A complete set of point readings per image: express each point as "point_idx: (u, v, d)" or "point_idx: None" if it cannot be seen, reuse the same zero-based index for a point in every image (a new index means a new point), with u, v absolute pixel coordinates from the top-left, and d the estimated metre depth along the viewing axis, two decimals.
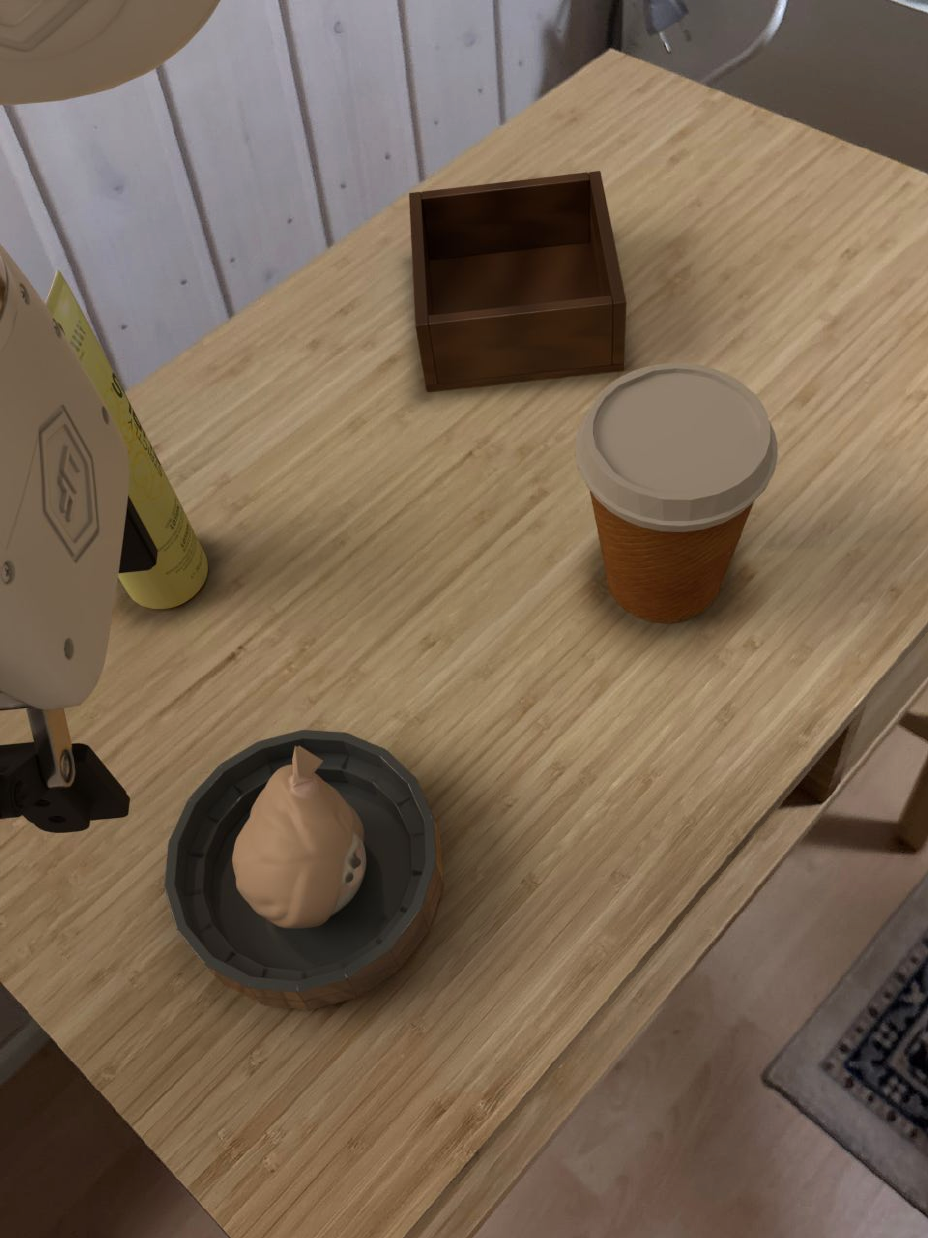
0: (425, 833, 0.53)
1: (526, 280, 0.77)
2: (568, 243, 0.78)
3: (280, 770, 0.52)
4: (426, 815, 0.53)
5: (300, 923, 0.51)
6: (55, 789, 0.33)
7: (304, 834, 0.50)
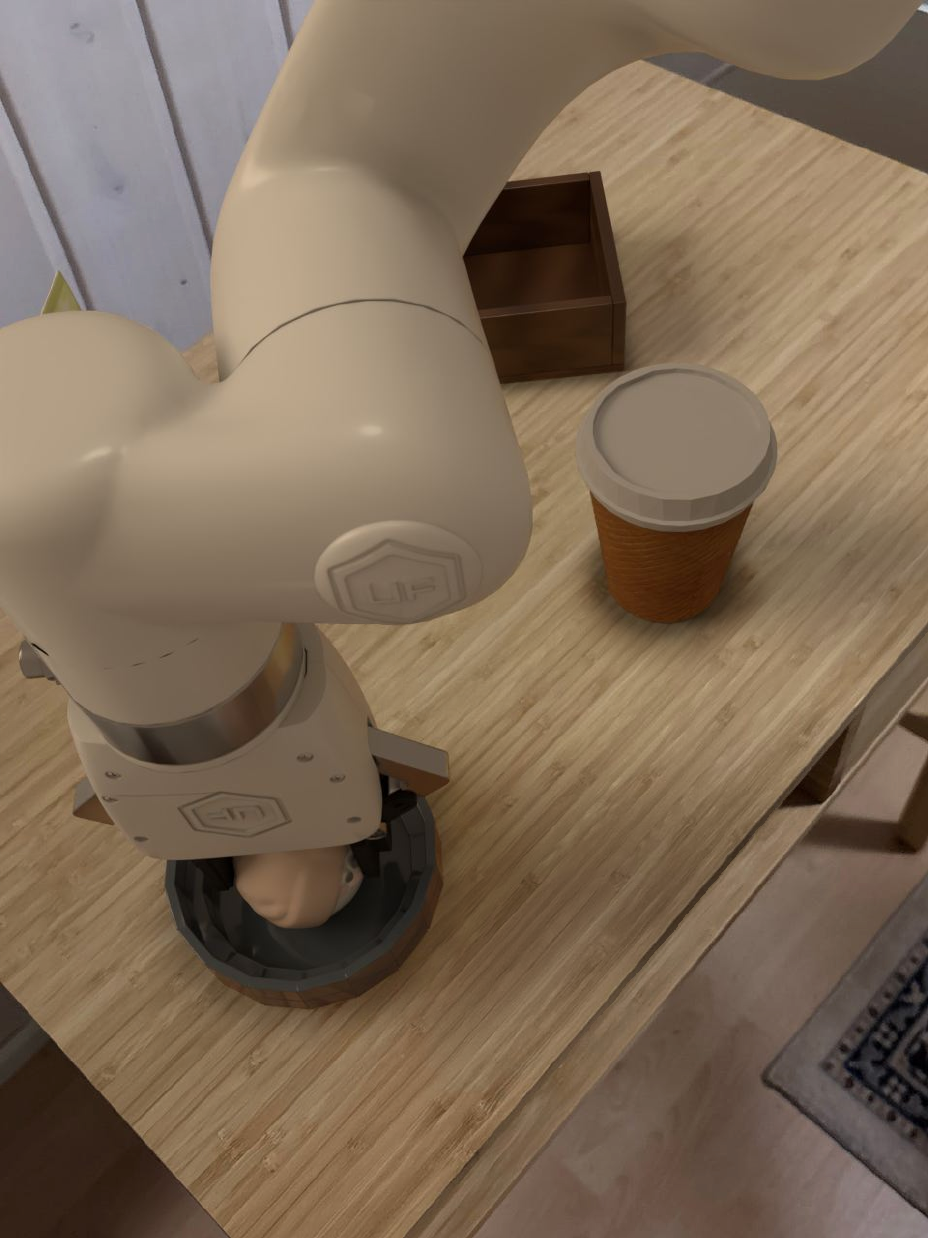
0: (425, 833, 0.53)
1: (526, 280, 0.77)
2: (568, 243, 0.78)
3: None
4: (426, 815, 0.53)
5: (300, 923, 0.51)
6: None
7: None
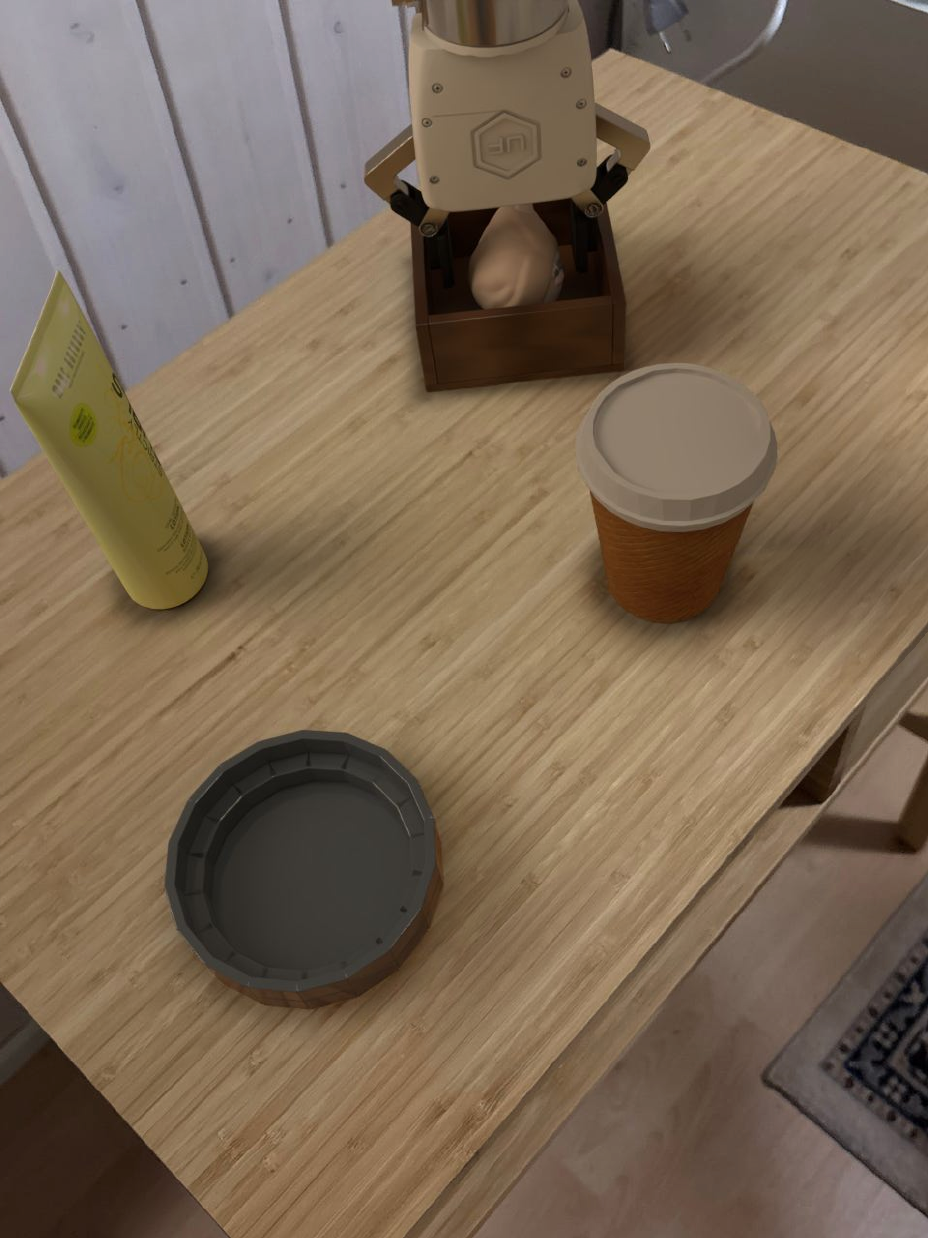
0: (425, 833, 0.53)
1: None
2: (568, 243, 0.78)
3: None
4: (426, 815, 0.53)
5: (522, 301, 0.71)
6: None
7: (527, 233, 0.70)
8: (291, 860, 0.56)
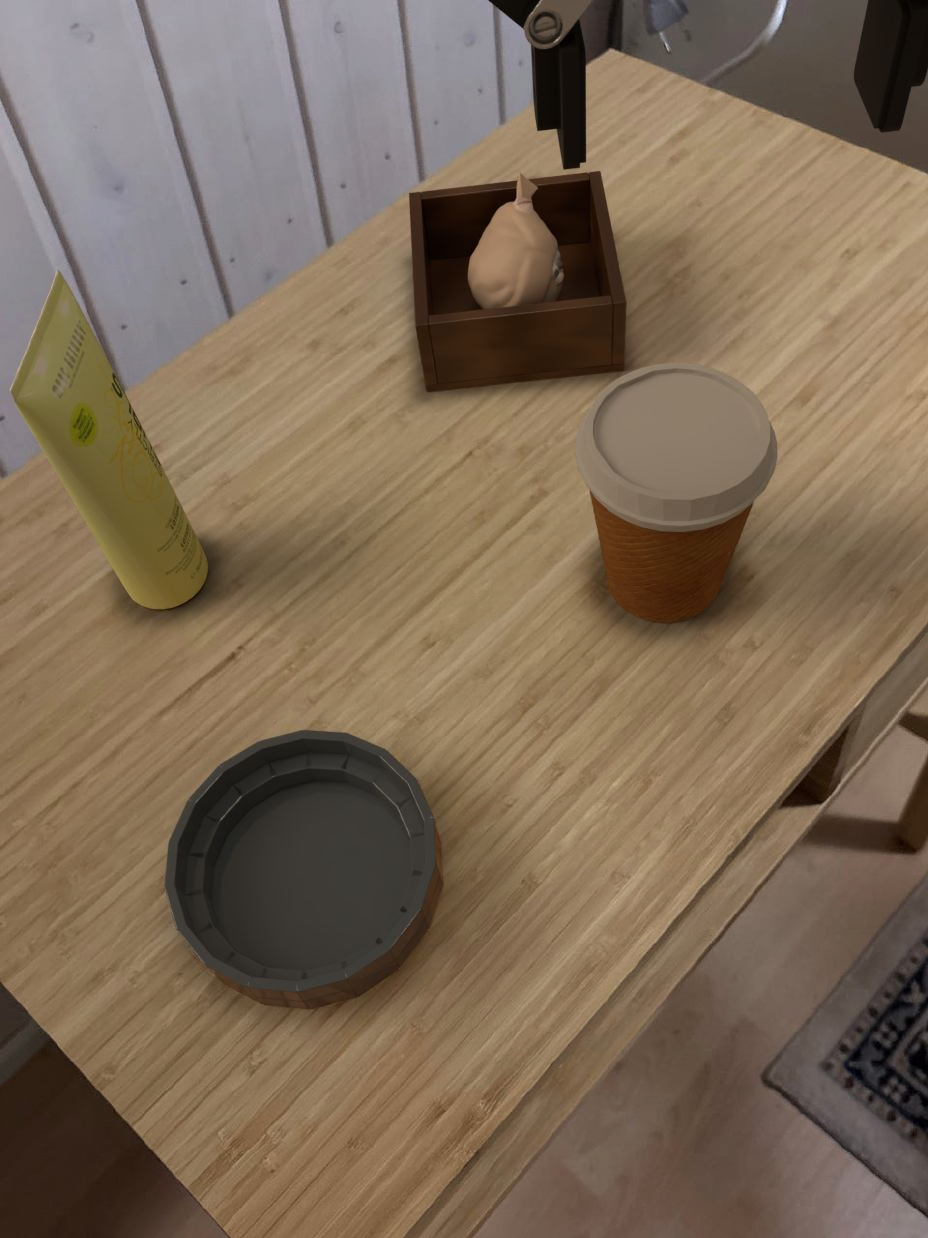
0: (425, 833, 0.53)
1: None
2: (568, 243, 0.78)
3: None
4: (426, 815, 0.53)
5: (522, 301, 0.71)
6: None
7: (527, 232, 0.70)
8: (291, 860, 0.56)
